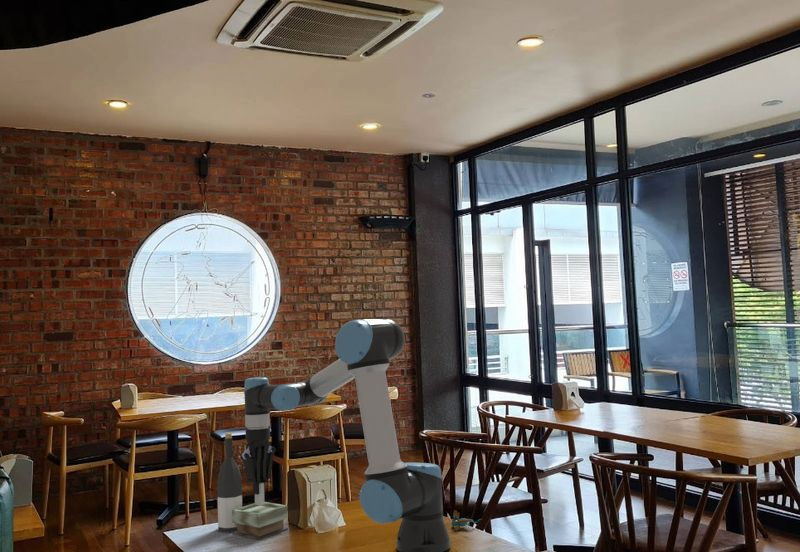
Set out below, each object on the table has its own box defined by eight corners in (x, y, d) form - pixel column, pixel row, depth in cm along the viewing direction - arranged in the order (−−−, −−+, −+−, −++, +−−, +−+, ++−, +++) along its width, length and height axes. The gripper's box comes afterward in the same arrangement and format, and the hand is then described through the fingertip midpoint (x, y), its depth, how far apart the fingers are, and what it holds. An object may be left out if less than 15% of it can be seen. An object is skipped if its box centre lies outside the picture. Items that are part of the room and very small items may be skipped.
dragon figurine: (472, 515, 230) (448, 514, 227) (481, 508, 224) (457, 506, 222) (474, 537, 226) (450, 535, 224) (483, 530, 220) (459, 528, 218)
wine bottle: (213, 533, 229) (210, 435, 231) (223, 525, 237) (221, 431, 239) (237, 533, 227) (235, 435, 229) (247, 526, 235) (245, 431, 237)
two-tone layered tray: (288, 529, 229) (287, 505, 230) (259, 539, 219) (258, 514, 220) (261, 524, 236) (260, 501, 237) (232, 534, 226) (231, 509, 227)
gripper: (264, 423, 237) (266, 498, 236) (233, 429, 227) (235, 507, 225) (281, 425, 233) (283, 501, 231) (250, 431, 222) (252, 510, 221)
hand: (259, 504), depth 228 cm, fingers closed
